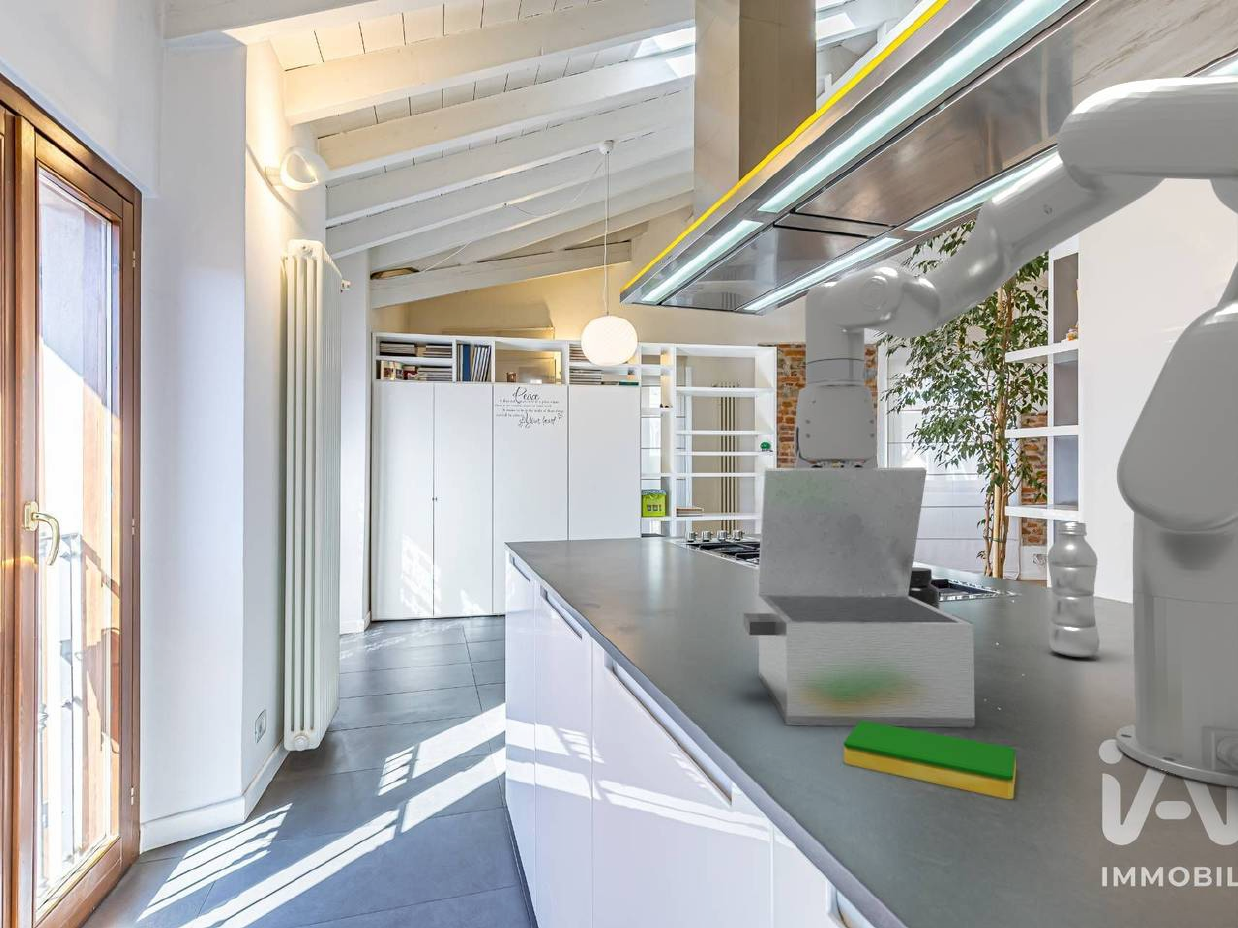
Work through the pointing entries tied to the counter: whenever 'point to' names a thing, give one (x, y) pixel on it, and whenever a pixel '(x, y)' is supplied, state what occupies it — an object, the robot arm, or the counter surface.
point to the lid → (839, 530)
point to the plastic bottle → (1072, 593)
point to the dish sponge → (933, 758)
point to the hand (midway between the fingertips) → (836, 514)
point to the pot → (864, 660)
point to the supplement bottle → (923, 587)
